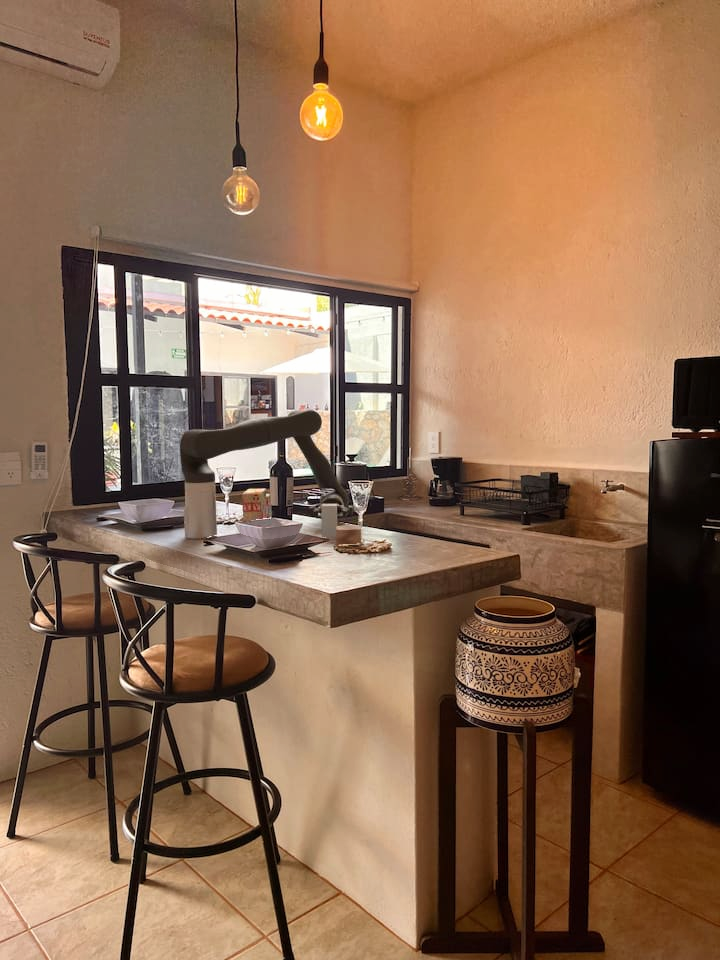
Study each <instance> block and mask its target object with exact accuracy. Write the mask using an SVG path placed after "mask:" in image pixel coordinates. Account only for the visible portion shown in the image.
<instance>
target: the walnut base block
mask: <svg viewBox="0 0 720 960" xmlns="http://www.w3.org/2000/svg"><path fill="white" fill-rule="evenodd" d="M335 539H336V540H335V542H336V543H337V544H336V546H337V545H339V544H357V543H361V544H362V528H361V525H359V524H355V525H353V524H351V525H350V524H349V525H337V526H336V538H335Z"/></svg>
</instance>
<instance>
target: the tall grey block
mask: <svg viewBox="0 0 720 960" xmlns="http://www.w3.org/2000/svg"><path fill="white" fill-rule="evenodd" d="M320 506H321V505H320ZM321 507H322V516H321V538H322V537H326V538H325V539H336V526H338V518H337V504H322V506H321Z"/></svg>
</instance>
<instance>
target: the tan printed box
mask: <svg viewBox="0 0 720 960" xmlns="http://www.w3.org/2000/svg"><path fill="white" fill-rule="evenodd" d="M241 495H242V496H241V497H242V523H243V522H247V521H251V520H256V519H263V518H270V517H271V518H272V503H271V493H267V488H248V489H246V490H245V491H244V492H243V493H242V494H241Z"/></svg>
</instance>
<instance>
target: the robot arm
mask: <svg viewBox="0 0 720 960" xmlns="http://www.w3.org/2000/svg"><path fill="white" fill-rule="evenodd" d="M322 423H323V420H322V416H321V415H320V414H319V413H318V412H317V411H315V410H314V409H311V408H307V409H306V408H305V409H303V408H302V409H295V410H292V411H290V413H289V414H288V415H287V416H267V417H266V416H265V417H257V418H253V419H247V420H244V421H242V422H239V423H237V424H235V425H233V426H232V427H228V428H227V427H226V428H223V429H222V428H221V429H220V428H219V429H189V430H187V431H185V432H184V433H183V434H182V435H181V438H180V441H179V454H180V455H179V457H180V466H181V473H182V474H183V477H184V495H185V496H184V498H185V501H184V502H185V506H184V507H183V520H184V521H183V522H184V523H183V524H184V538H185V539H194V540H195V539H196V540H197V539H199V540H201V538H204V537H209V536H214V535H217V536H218V526H217V523H218V522H217V521H218V520H217V518H218V517H217V496H216V495H217V494H216V473H215V472H214V471H213V469H211V467H210V466H209V461H208V460H210V459H213V458H216V457H218V456H222V455H224V454H227V453H231V452H235V451H243V450H249V449H255V448H260V447H264V446H267V445H271V444H275V443H277V442H278V443H279V442H281V441H284V440H287V439H289V438H293V440H294V442H296V444H297V446H298V448H299V450H300V451H301V453H302V455H303V456H304V458H305V459H306V461H307V463H308V465H309V468H310V470H311V472H312V475H313V477H314V479H315V482H316V485H317V486H318V488H319V489H320V490H328V489H329V490H330V489H332V490H331V491H329V492H326V493H323V494H321V496H320V497H319V504H320V505H319V506H318V507H316V506H315V505H311V506H310V507H309V508H308V513H309V514H308V515H309V516H310V517H312V516H314V517H315V518H319V517H322V507H321V506H322V504H337V519H338V518H340V517H342V518H345V517H347V516H348V515H349V516H351V517H352V516H353V515H354V507H353V504H352V505H351V504H350V505H349V503H350V498H349V494H348V493H347V491H346V490H345V488H344V487H342V485H341V484H340V483H339V481H338V479H337V477H336V475H335V473H334V470H333V468H332V465H331V462H330V461H329V459H328V458H327V457H326V456H325V455H324V453H323V452H322V451H321V449H319V447H318V446H317V445H316V443H315V441H314V440H313V438H312V436H313V435H315V434H317V433H318V432H319V431H320V430H321V428H322V425H323V424H322ZM204 539H205V538H204Z"/></svg>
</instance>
